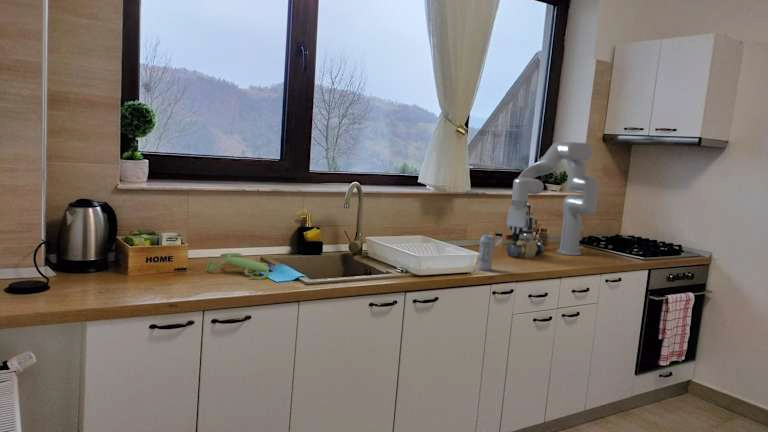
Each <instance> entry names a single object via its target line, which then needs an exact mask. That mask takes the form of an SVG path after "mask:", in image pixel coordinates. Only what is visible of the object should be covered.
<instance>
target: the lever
mask: <svg viewBox="0 0 768 432" xmlns="http://www.w3.org/2000/svg"><path fill="white" fill-rule="evenodd" d="M512 236H513V233H501V239H502V240H504V241H505V240H506V241H508V240H509V241H511V240H512V241H513V239H512ZM532 236H533V233H532V234H529V233H523V234H520V237H519V239H528V240H532V238H533V237H532Z"/></svg>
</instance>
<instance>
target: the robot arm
mask: <svg viewBox="0 0 768 432" xmlns="http://www.w3.org/2000/svg"><path fill="white" fill-rule="evenodd" d="M592 155H593V147H592V145H591V144H590V143H587V142H574V141H566V142H565V141H556V142H554V143H552V144H551V146H550V147H549V148H548V149H547V151H546V152H545V154H544V155H543V156H542V157H541V158H540V160H539V161H537V162H535V163H533V164H531V165H530V166H528V167H526V168H525V169H524V170H523V171H521V173H520V174H519V176H517V178H514V179H513V181H512V182H513V183H512V194H511V195H512V196H511V205H509V207H508V208H509V209H508V212H507V217H506V228H508V229H510V231H511V234H513V236H512V239H513V240H512V242H517V241H519V237H520V233H521V232H522V231H526V230H527V227H528V226H529V208H527V206H529V205H530V206H531V204H530V203H529V202H528V198H529V195H539V194H541V193H542V192H543V190H544V183H543V181H542V180H540V179H537V177H539V176H544V175H548V174H551V173H553V172H554V171H555V170H556V168H557V167H558V166H559V164H560V163H561V162H562V160H566V162H567V164H568V172H567V190H568V191H569V192H571V193H576V194H569V195H566V196H565V197H564V199H563V201H562V211H563V214H562V215H563V218H562V226H561V227H562V228H561V236H560V244H559V248H558V249H556V253H557V254H562V255H567V256H581V255H582V253H581V251H580V250H584V246H583V245H581V246H580V239H581V231H582V230H581V229H582V222H583V221H582V217H581V215H583V216H584V215H585V216H591V215H594V213H595V212H596V210H597V205H598V194H599V182H598V180H597V178H596V177H595V176H591V175H586V162H585V161H586V160H589V159H590V158H591V157H592ZM577 194H581V195H577Z"/></svg>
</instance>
